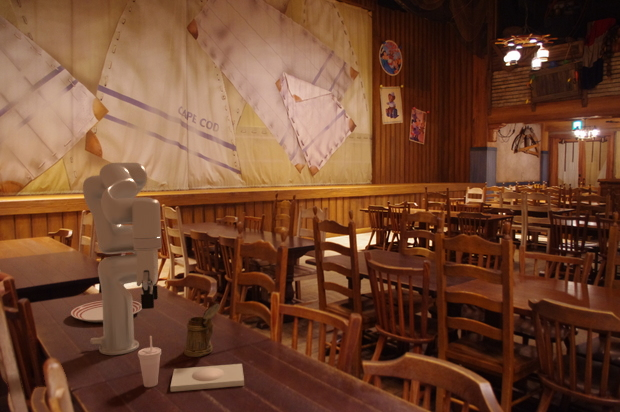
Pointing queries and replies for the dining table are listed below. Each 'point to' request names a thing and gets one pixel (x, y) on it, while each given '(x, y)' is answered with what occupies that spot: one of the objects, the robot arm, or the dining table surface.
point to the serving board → (207, 377)
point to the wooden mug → (200, 333)
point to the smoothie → (150, 364)
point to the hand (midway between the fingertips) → (150, 303)
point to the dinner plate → (96, 311)
